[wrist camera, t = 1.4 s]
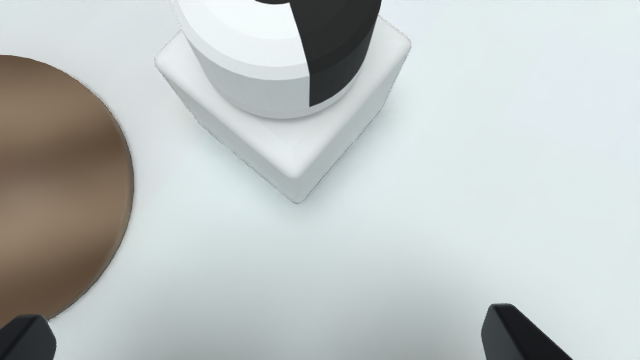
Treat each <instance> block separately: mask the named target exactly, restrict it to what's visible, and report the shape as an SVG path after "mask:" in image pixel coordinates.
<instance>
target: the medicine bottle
mask: <svg viewBox="0 0 640 360" xmlns="http://www.w3.org/2000/svg"><path fill="white" fill-rule="evenodd" d="M381 1H382V0H171V4H172V8H173V12H174V14H175V17H176V19H177V21H178V24H179V26H180V28H181V30H180V31H179V32H178V33H177V34H176V35H175V36H174V37H173V38H172V39H171V40H170V41H169V42H168V43H167V44H166V45H165V46H164V47H163V48H162V49H161V50H160V51H159V52H158V53H157V55H156V56H155V58H154V62H155V66H156V67H157V69H158V70H159V71H160V73H161V74H162V75H163V77H164V78H165V79H166V81H167V82H168V83H169V85H170V86H171V87H172V89H173V90H174V91H175V93H176V94H177V95H178V96H179V98H180V99H181V100H182V102H183V103H184V104H185V106H186V107H187V108H188V110H189V111H190V112H191V114H192V115H193V116H194V118H195V119H196V120H197V121H198V123H200V124H201V125H202V126H203V127H204V128H205V129H207V130H208V131H209V132H210V133H211V134H213V135H214V136H215V137H216V138H217V139H219V140H220V141H221V142H222V143H223V144H225V145H226V146H227V147H228V148H229V149H230V150H232V151H233V152H234V153H235V154H236V155H238V156H239V157H240V158H241V159H242V160H244V161H245V162H246V163H247V164H248V165H249V166H251V167H252V168H253V169H254V170H255V171H257V172H258V173H259V174H260V175H261V176H263V177H264V178H265V179H266V180H267V181H269V182H270V183H271V184H272V185H273V186H274V187H276V188H277V189H278V190H279V191H280V192H282V193H283V194H284V195H285V196H286V197H288V198H289V199H290V200H291V201H292V202H294V203H300V202H302V201H303V200H304V199H305V198H306V197H307V195H308V194H309V193H310V192H311V191H312V190H313V188H314V187H315V186H316V185H317V184H318V183H319V181H320V180H321V179H322V178H323V177H324V176H325V174H326V173H327V172H328V171H329V170H330V169H331V167H332V166H333V165H334V164H335V163H336V162H337V160H338V159H339V158H340V157H341V156H342V155H343V153H344V152H345V151H346V150H347V149H348V148H349V146H350V145H351V144H352V143H353V142H354V141H355V139H356V138H357V137H358V136H359V135H360V133H361V132H362V131H363V130H364V129H365V128H366V126H367V125H368V124H369V123H370V122H371V121H372V119H373V118H374V117H375V116H376V115H377V114H378V112H379V111H380V110H381V109H382V107H383V105H384V103H385V101H386V99H387V97H388V95H389V93H390V91H391V88H392V86H393V84H394V82H395V80H396V78H397V76H398V74H399V72H400V70H401V68H402V66H403V64H404V62H405V60H406V57H407V55H408V53H409V51H410V49H411V41H410V39H409V38H408V37H407V36H405V35H404V34H403V33H402V32H400V31H399V30H398V29H396V28H395V27H394V26H392V25H391V24H390V23H389V22H387V21H386V20H385V19H383V18H382V17H381V16H379V15H378V13H379V10H380V6H381Z"/></svg>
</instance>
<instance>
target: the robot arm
mask: <svg viewBox="0 0 640 360" xmlns="http://www.w3.org/2000/svg"><path fill="white" fill-rule="evenodd" d="M481 337H482V343H483V347H484V351H485V355H486V360H573V359H572V358H571V357H570V356H568V355H567V354H566V353H565V352H564V351H563V350H562V349H561V348H560V347H559V346H558V345H556V344H555V343H554V342H553V341H552V340H551V339H550V338H549V337H548V336H547V335H545V334H544V333H543V332H542V331H541V330H540V329H539V328H538V327H537V326H536V325H535V324H533V323H532V322H531V321H530V320H529V319H528V318H527V317H526V316H525V315H524V314H523V313H521V312H520V311H519V310H518V309H517V308H516V307H515V306H513V305H512V304H508V303H499V304H491V305H490V306H489V308H488V311H487V314H486V317H485V320H484V323H483V326H482V330H481ZM55 351H56V338H55V336H54V334H53V332H52V330H51V329H50V327H49V325H48V323H47V321H46V319H45V317H44V316H43V315H41V314H21V315H18V316H16V317H15V318H13V319H12V320H11V321H9V322H8V323H7V324H6V325H4V326H3V327H2V328H0V360H53V358H54V355H55Z"/></svg>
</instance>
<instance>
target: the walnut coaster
mask: <svg viewBox="0 0 640 360" xmlns="http://www.w3.org/2000/svg"><path fill="white" fill-rule="evenodd" d="M133 192H134V186H133V168H132V161H131V156H130V152H129V149H128V146H127V142H126V139H125V137H124V135H123V133H122V131H121V129H120V126H119V124H118V123H117V121H116V120H115V118H114V117H113V115H112V114H111V112H110V111H109V110H108V109H107V107H106V106H105V105H104V104H103V103H102V102H101V101H100V99H99V98H97V97H96V96H95V95H94V94H93V93H92V92H90V91H89V90H88V89H87V88H86V87H84V86H83V85H82V84H81V83H79V82H78V81H77V80H75V79H74V78H72V77H71V76H69V75H68V74H66V73H64V72H63V71H61V70H59V69H57V68H54V67H52V66H50V65H48V64H45V63H42V62H39V61H36V60H33V59H29V58H23V57H18V56H12V55H0V328H2V327H3V326H4V325H6V324H7V323H8V322H9V321H11V320H12V319H13V318H15V317H16V316H18V315H21V314H41V315H43V316H44V317H45V319H46V321H47V320H49V319H51V318H53V317H54V316H56V315H57V314H59V313H60V312H62V311H63V310H65V309H66V308H68V307H69V306H71V305H72V304H73V303H74V302H75V301H76V300H78V299H79V298H80V297H81V296H82V295H83V294H85V293H86V292H87V290H88V289H89V288H90V287H91V286H92V285H93V284H94V283H95V282H96V281H97V280H98V278H99V277H100V276H101V274H102V273H103V272H104V270H105V269H106V267H107V266H108V265H109V263H110V262H111V260H112V258H113V256H114V254H115V253H116V251H117V249H118V247H119V245H120V243H121V240H122V238H123V235H124V233H125V230H126V228H127V224H128V220H129V217H130V213H131V208H132V200H133Z"/></svg>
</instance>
